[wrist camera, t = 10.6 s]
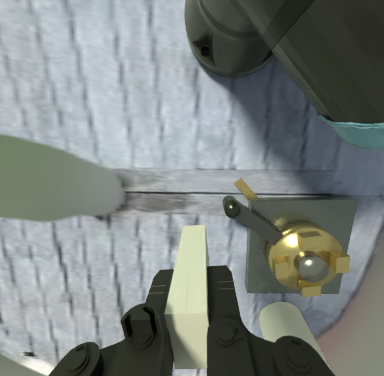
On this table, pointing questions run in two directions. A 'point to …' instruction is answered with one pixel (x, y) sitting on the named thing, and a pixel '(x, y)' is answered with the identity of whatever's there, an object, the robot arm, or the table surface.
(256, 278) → the collar plate
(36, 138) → the table surface
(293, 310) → the cylinder container
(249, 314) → the table surface
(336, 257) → the ring nut
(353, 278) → the table surface
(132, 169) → the table surface
